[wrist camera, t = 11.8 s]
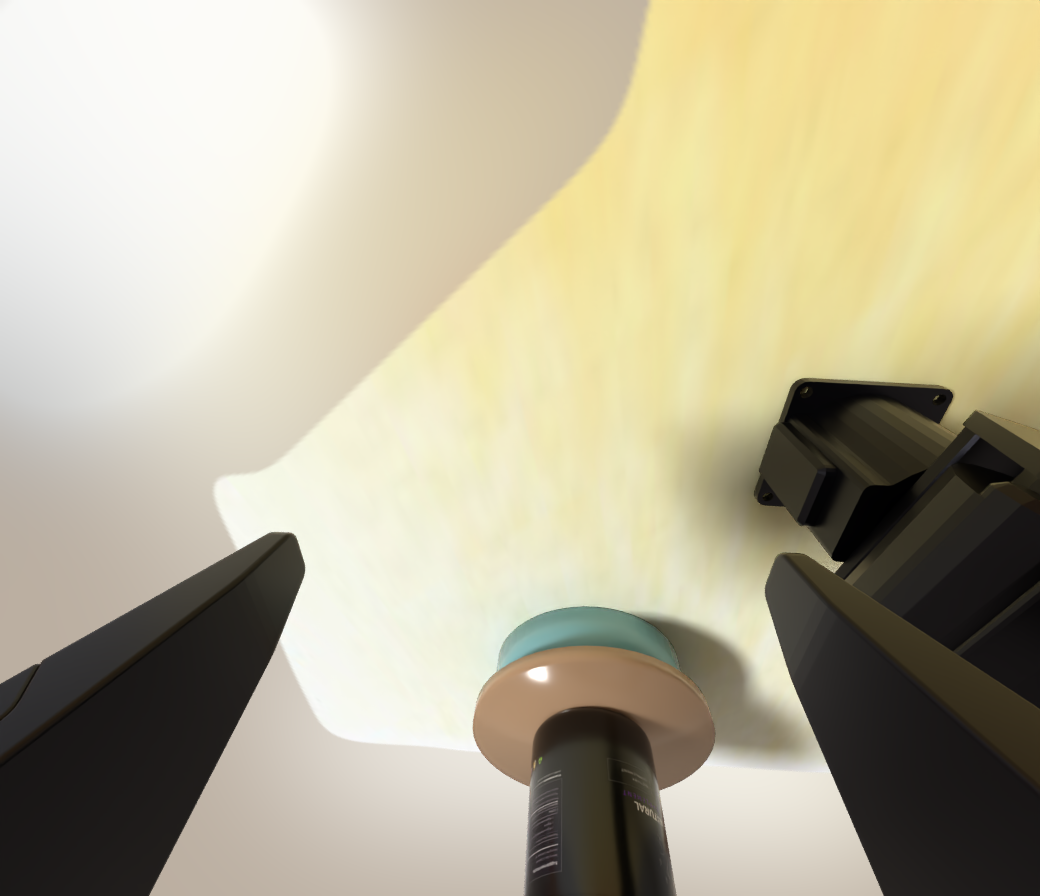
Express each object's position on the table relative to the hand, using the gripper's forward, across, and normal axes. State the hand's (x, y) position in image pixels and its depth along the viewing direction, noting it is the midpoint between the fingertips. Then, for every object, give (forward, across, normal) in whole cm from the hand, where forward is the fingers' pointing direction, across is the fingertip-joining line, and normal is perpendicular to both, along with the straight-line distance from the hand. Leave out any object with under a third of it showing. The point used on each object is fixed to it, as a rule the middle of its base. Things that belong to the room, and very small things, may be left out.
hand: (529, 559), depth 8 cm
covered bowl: (+13, -4, +22) cm, 26 cm away
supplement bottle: (+9, -4, +22) cm, 24 cm away
